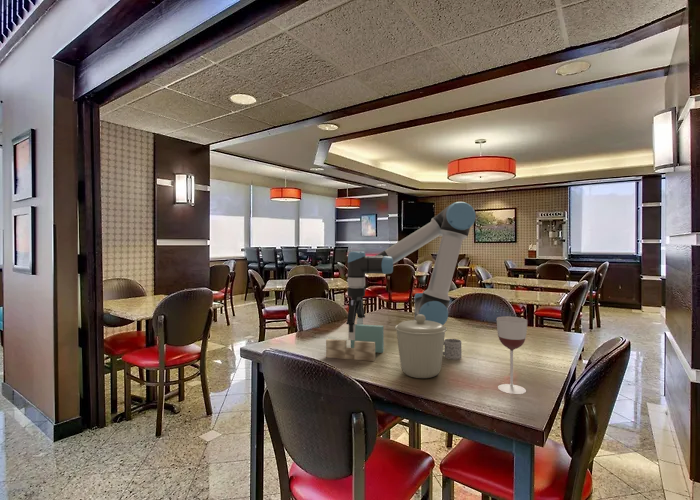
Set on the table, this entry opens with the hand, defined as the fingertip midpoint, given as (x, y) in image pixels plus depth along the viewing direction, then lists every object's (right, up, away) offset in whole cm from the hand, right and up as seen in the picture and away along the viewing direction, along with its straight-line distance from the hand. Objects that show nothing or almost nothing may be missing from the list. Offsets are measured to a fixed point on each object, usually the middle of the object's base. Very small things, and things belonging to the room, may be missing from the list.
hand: (356, 336), depth 165 cm
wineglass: (+48, -7, -45) cm, 66 cm away
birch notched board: (-2, -6, -12) cm, 13 cm away
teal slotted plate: (+5, -6, -1) cm, 8 cm away
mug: (+37, -6, -10) cm, 39 cm away
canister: (+22, -7, -30) cm, 38 cm away
